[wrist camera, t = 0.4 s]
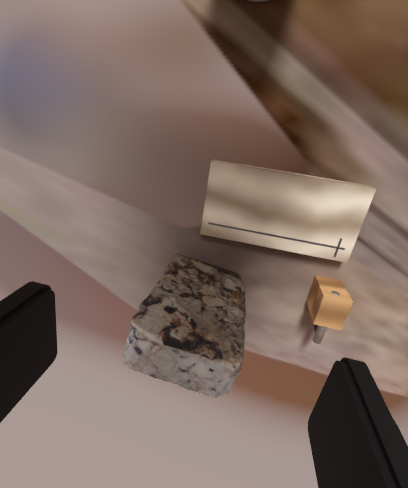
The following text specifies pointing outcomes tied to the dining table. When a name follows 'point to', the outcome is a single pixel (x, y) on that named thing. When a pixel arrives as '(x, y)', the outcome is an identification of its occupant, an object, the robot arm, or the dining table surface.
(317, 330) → the marking gauge
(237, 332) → the stone block
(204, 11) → the dining table surface
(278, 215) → the birch board
